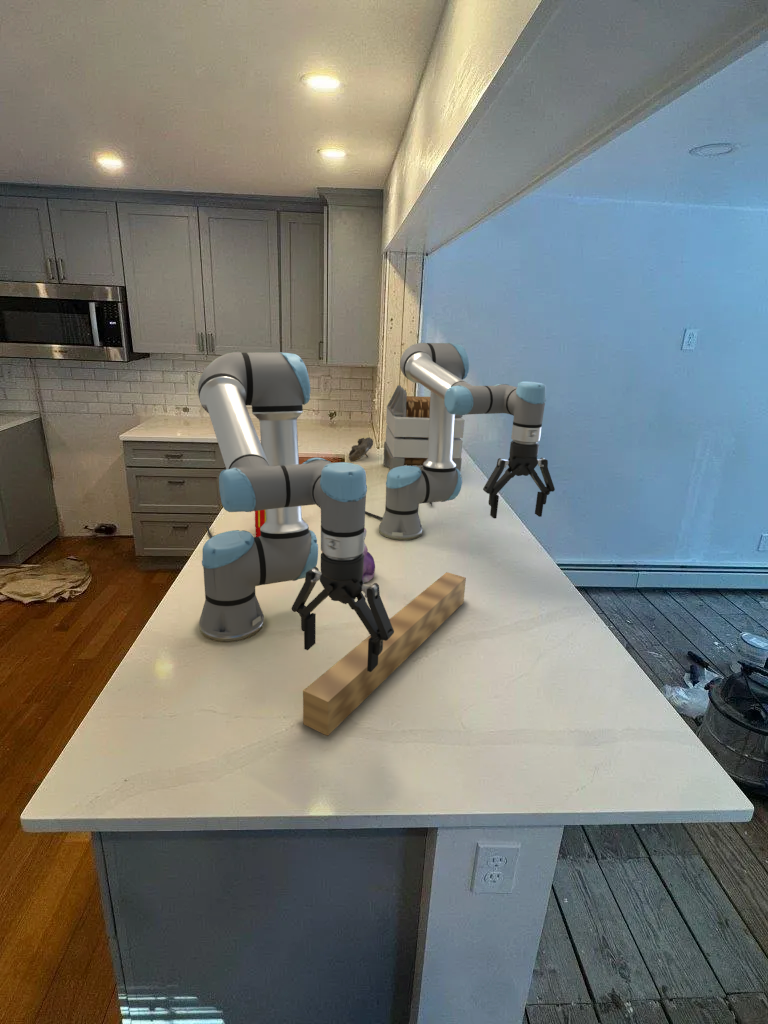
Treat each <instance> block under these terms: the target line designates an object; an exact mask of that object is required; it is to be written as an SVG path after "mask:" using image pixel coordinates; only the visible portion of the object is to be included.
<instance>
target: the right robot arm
mask: <svg viewBox="0 0 768 1024" xmlns="http://www.w3.org/2000/svg"><path fill="white" fill-rule="evenodd" d="M470 366H471V365H470V357H469V354H468V352H467V350H466V348H465V347H464V346H463V345H461V344H458V343H451V342H417V343H414V344H412V345H410V346H408V347H407V348H406V349H405V350H404V351H403V352H402V354H401V357H400V361H399V367H400V368H399V369H400V371H401V373H402V375H403V376H404V377H405V378H406V379H407V380H409V381H410V382H412V383H415V384H420V385H421V386H423V387H424V388H426V389H427V390H428V391H430V396H429V397H430V416H429V438H428V459H427V460H426V461H425V462H424V463H423V466H422V469H421V467H420V466H407V465H404V466H399V467H396V468H393V469H391V470H390V469H389V470H388V472H387V475H386V480H385V504H384V505H385V507H384V508H385V509H384V513H383V515H382V516H380V515H377V514H374V513H371V512H369V511H366V510H365V515H367V516H369V517H372V518H375V519H378V520H380V521H381V522H379V525H378V533H379V534H380V535H381V536H382V537H385V538H387V539H389V540H395V541H410V540H415V539H418V538H420V537H421V536H422V535H423V525H422V524H421V518H420V515H419V507H420V506H419V505H420V504H430V503H431V502H432V503H444V502H445V503H446V502H449V501H453V500H455V499H456V498H457V497H458V496H459V494H460V492H461V490H462V485H463V479H462V473H460V471H459V470H458V469H457V468H456V464H455V463H454V462H453V461H452V453H453V436H454V419H455V414H458V415H462V416H465V415H490V414H491V415H492V414H494V415H495V414H507V415H511V416H513V421H512V427H511V437H510V438H511V441H510V445H509V457H508V459H502V458H501V457H500V458H498V459H497V462H496V466H495V468H494V469H493V470H492V473H491V474H490V476H489V478H488V479H487V481H486V483H485V485H484V487H483V488H482V490H483V491H484V492H485V493H486V494H488V495H489V497H488V505H489V506H490V513H489V516H490V517H491V518H492V519H497V518H498V508H499V499H500V495H499V493H500V491H501V490H502V489H503V488H504V487H505V486H506V484H508V483H509V481H510V480H511V479H513V478H514V477H515V476H517V477H522V476H525V477H528V476H530V477H531V479H532V480H533V482H534V483H535V485H536V486H537V488H538V489H539V490H540V491H537V494H536V500H535V509H534V515H536V516H537V517H539V518H541V517H542V516H543V509H544V505H546V504H547V500H548V496H549V495H550V494H551V492H555V490H556V488H555V486H554V482H553V479H552V476H551V473H550V470H549V468H548V467H549V461H548V459H546V458H545V457H540V458H538V456H539V451H540V450H539V449H540V443H539V442H540V441H541V435H542V426H543V420H544V413H545V406H546V402H547V398H546V397H547V385H546V384H544V383H543V382H536V381H520V382H518V383H517V386H514V385H510V384H508V383H496V384H494V385H472V384H470V383H468V382H467V381H465V379H466V378H468V374H469V372H470ZM507 466H508V468H507ZM537 466H538V467H539V469H540V473H541V475H542V478H543V480H541V477H540V476H539V475H538V473H537V471H536V470H535V469H536V467H537ZM506 468H507V469H506ZM504 470H505V471H504ZM503 472H504V473H503ZM502 473H503V474H502ZM543 481H544V482H543Z"/></svg>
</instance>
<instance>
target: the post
mask: <svg viewBox="0 0 768 1024" xmlns="http://www.w3.org/2000/svg"><path fill="white" fill-rule="evenodd" d="M466 581H467V577H465V576H462V575H458V574H456V573H451V572H448V571H446V572H445V573H443V575H441V576H440V577H439V578H438V579H436V580H435V581H434V582H433V583H431V584H430V585H429V586H428V587H426V588H425V589H424V590H423V591H422V592H421V593H419V594H418V595H417V596H416V597H415V598H413V599H412V600H411V601H410V602H408V603H407V604H406V605H405V606H403V607H402V608H401V609H400V610H399V611H397V612H396V613H394V615H393V616H392V617H389V620H390V622H391V625H392V627H393V630H394V633H393V635H392V636H391V637H390V638H389V639H388V640H387V641H385V640H383V650H382V652H381V653H380V654H379V655H378V665H377V666H376V667H375V668H374V669H373V670H372V672H369V671H367V666H368V640H369V639H370V638H371V635H370V634H369V635H368V636H366V638H364V639H363V640H362V641H361V642H360V643H359V644H357V645H356V646H355V647H354V648H352V649H351V650H350V651H349V652H348V653H346V654H345V655H344V656H343V657H341V659H339V660H338V661H337V662H336V663H334V664H333V665H332V666H331V667H329V668H328V669H327V670H325V672H324V673H322V674H321V675H320V676H319V677H317V678H316V679H315V680H314V681H313V682H312V683H310V684H309V685H308V686H307V687H305V688H304V689H303V690H302V724H303V725H304V726H306V727H308V728H311V729H312V730H315V731H316V732H318V733H321V734H322V735H324V736H326V737H328V736H329V735H330V734H332V733H333V731H335V729H337V728H338V727H339V725H340V724H342V723H343V722H344V721H345V720H346V719H347V718H348V717H349V716H350V715H351V714H352V713H353V712H354V711H355V710H356V709H357V708H358V707H359V706H360V705H361V704H362V703H363V702H364V701H366V699H367V698H368V697H370V695H371V694H372V693H373V692H374V691H375V690H376V689H377V688H378V687H379V686H381V684H382V683H383V682H384V681H386V679H387V678H388V677H390V676H391V675H392V674H393V673H394V671H396V670H397V669H398V668H399V667H400V666H401V665H402V664H403V663H404V662H405V661H406V660H407V659H408V658H409V657H410V656H411V655H412V654H413V653H414V652H415V651H416V650H418V648H419V647H420V646H421V645H422V644H423V643H424V642H426V640H427V639H428V638H430V636H431V635H432V634H433V633H434V632H435V631H436V630H437V629H438V628H439V627H441V625H443V624H444V623H445V622H446V621H447V620H448V619H449V618H450V617H451V616H452V615H453V614H454V613H455V612H456V611H457V610H458V609H459V608H460V607H461V606H462V605H463V604H464V600H465V592H466Z"/></svg>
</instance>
